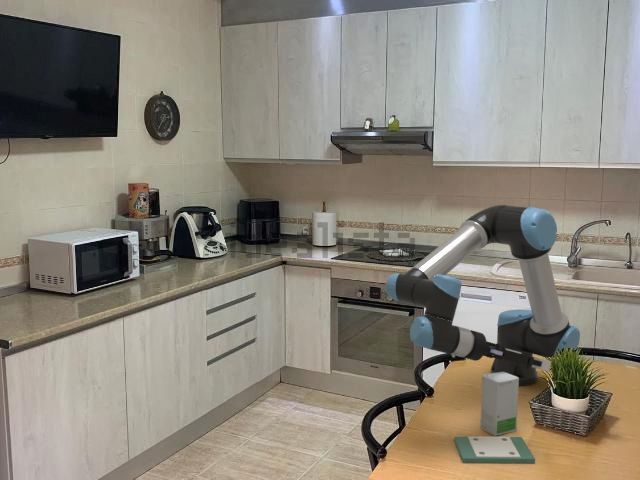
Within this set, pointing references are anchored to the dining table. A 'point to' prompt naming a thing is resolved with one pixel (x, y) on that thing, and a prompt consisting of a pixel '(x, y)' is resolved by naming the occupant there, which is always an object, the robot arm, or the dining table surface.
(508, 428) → the skincare box
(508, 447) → the board
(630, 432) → the dining table surface
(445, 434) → the dining table surface
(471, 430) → the dining table surface
